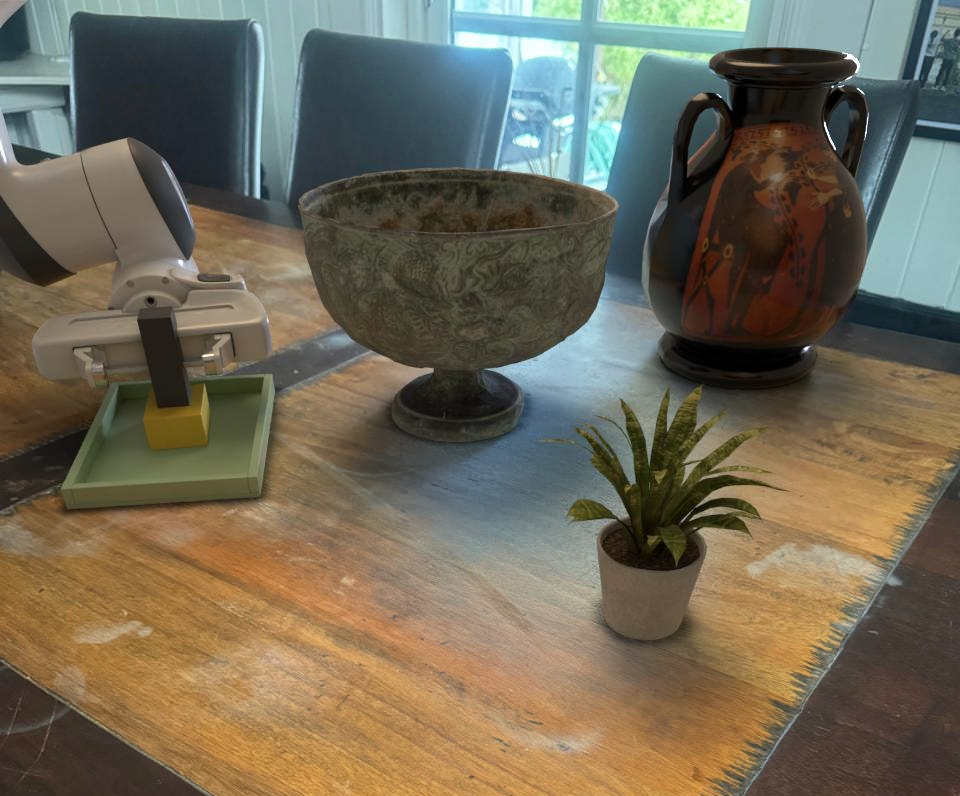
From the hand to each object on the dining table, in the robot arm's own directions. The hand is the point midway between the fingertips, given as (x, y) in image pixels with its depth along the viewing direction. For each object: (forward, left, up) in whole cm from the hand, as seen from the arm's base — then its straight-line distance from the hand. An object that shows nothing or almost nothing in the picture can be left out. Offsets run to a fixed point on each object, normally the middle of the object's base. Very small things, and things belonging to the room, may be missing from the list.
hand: (155, 372), depth 79 cm
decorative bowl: (+26, +7, -8) cm, 28 cm away
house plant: (+34, -29, -8) cm, 46 cm away
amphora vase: (+56, +15, -8) cm, 59 cm away
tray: (0, +3, -8) cm, 9 cm away
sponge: (0, +5, -8) cm, 9 cm away
